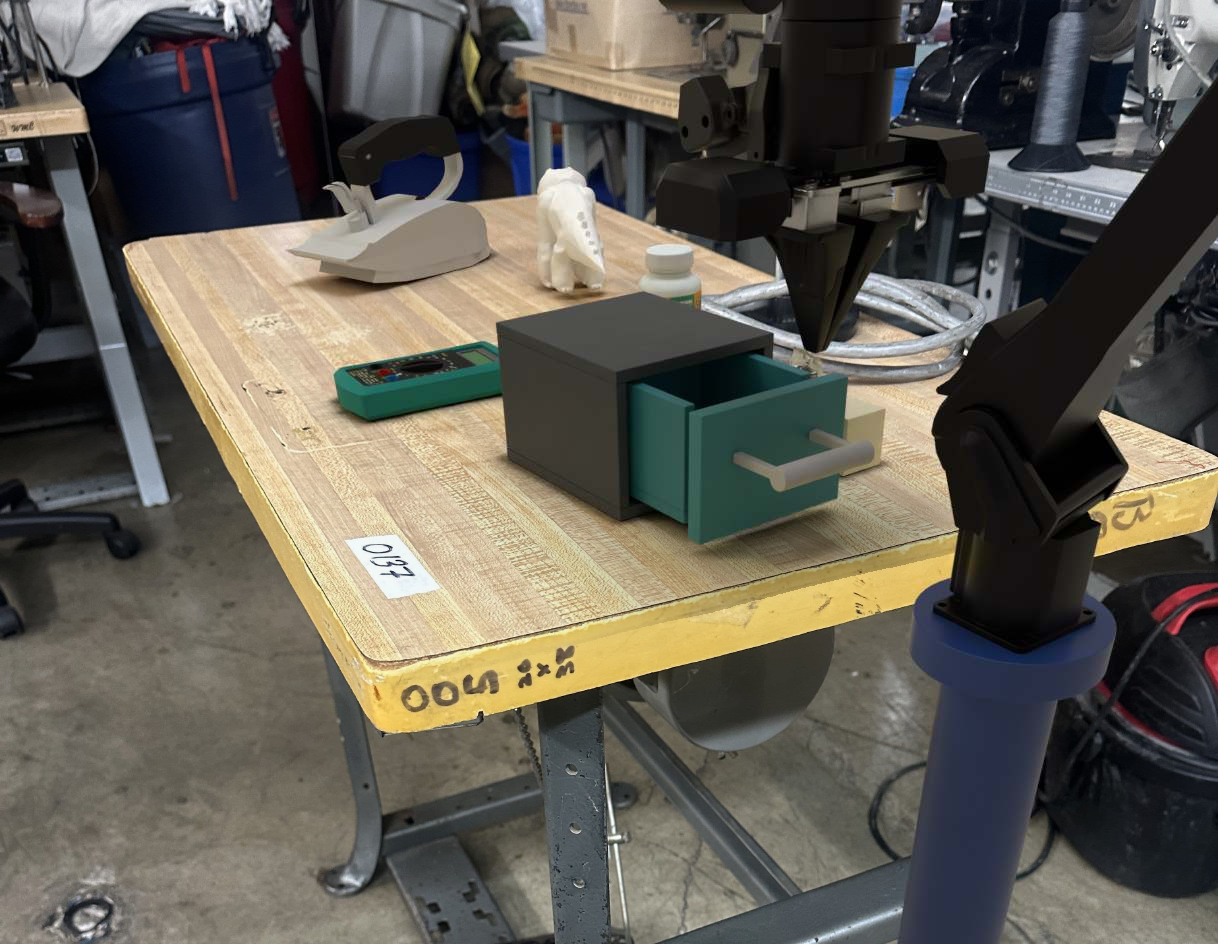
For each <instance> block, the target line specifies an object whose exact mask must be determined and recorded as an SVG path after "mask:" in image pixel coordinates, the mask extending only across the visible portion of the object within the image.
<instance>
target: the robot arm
mask: <svg viewBox="0 0 1218 944" xmlns="http://www.w3.org/2000/svg"><path fill="white" fill-rule="evenodd" d="M903 1H904V0H658V2H659V3H660V5H662V6H663V7H664V8H666V9H667V10H668V11H671V12H674V13H681V14H683V13H684V14H685V13H686V14H721V15H722V14H724V15H755V16H756V15H759V16H761V15H768V14H769V13H771V12H773V11H775V10H776V9H777V8H778V7H779V6H780V5H782V6H781V25H780V41H772V42H763V43H762V50H761V52H760V54H759V55H758V56H759V57H758V67H757V68H758V69H757V77H756V80H755V81H753V82H751V83H749V84H745V85H739V86H733V87H729V85H728V84H727V82H726V80H725V78H724V76H723V75H722V74H712V75H704V76H695V77H693V78H691V79H689V80H687V81H685V82H684V83H682V84H680V85H679V95H678V96H679V98H678V112H677V126H678V132H679V138H680V143H681V146H682V148H683V150H685V151H686V152H687V153H688V154H692V153H698V152H703V151H705V155H706V157H704V158H697V159H691V160H690V159H689V160H684V161H677V162H672V163H668V165H667V167H666V168H665V170H664V171H663V173H662V174H661V176H660V178H659V179H658V181H657V184H656V188H655V226H657V227H661V228H664V229H669V230H671V231H672V230H673V231H676V232H679V233H684V234H688V235H691V236H695V237H699V238H703V239H707V240H710V241H715V242H718V243H738V242H742V241H748V240H752V239H753V240H754V239H758V238H764V240H765V241H766V242H767V243H768V245H769V246H770V247H771V248H772V250H773V252H774V254H775V256H776V259H777V261H778V264H779V266H780V269H781V271H782V274H783V275H782V276H783V278H784V280H785V284H786V288H787V292H788V295H789V299H790V303H791V306H792V310H793V314H794V317H795V322H796V326H797V329H798V333H799V336H800V340H801V343H802V348H803V350H804V351H805V352H811V353H812V354H819V353H824V352H826V351H827V350H828V349H829V347H830V345H831V343H832V341H833V340H834V338H835V336H836V334H837V332H838V330H839V329H840V327H841V325H842V324H843V321H844V320H845V318H846V316H847V315H848V312H849V310H850V309H851V307H852V306H853V304H854V302H855V300H856V299H857V296H858V295H859V293H860V291H861V289H862V287H863V286H864V284H865V282H866V280H867V279H868V277H869V276H870V274H871V272H872V271H873V269H874V267H875V266H876V264H877V263H878V261H879V259H880V258H881V257H882V255H883V253H884V252H885V250H886V249H887V247H888V246H889V244H890V242H891V241H892V240H893V238H894V236H895V235H896V233H897V231H898V230H899V229H900V228H901V227H904V226H908V225H909V223H910V220H911V215H912V214H911V213H910V212H908V211H903V210H898V209H894V208H893V203H894V202H893V201H894V195H893V194H891V193H892V188H897V187H903V186H908V185H913V184H919V183H926V184H927V185H932V186H937V188H938V189H939V191H940V193H941V195H942V197H943V198H944V199H949V200H953V199H959V198H960V199H961V198H964V197H968V196H975V195H979V194H984V193H985V192H986V185H987V179H988V171H989V166H990V159H991V152H990V151H989V148H988V146H987V145H986V143H985V140H984V139H983V136H982V134H981V133H980V132H974V131H967V130H959V129H952V128H945V127H937V126H931V125H929V126H928V125H921V124H917V125H911V126H903V127H896V128H891V117H892V108H893V99H894V92H895V91H894V89H895V82H896V81H895V80H896V71H897V69H902V68H903V69H904V68H912V67H915V64H916V54H917V45H918V41H915V40H913V41H912V40H900V31H901V24H902V12H903V4H904V2H903ZM781 3H782V4H781ZM771 163H774V164H771ZM811 182H814V183H811ZM806 183H810V184H806ZM1217 239H1218V75H1217V76H1216V77H1215V78H1214V80H1213V81H1212V82H1211V84H1210V85H1209V86H1208V88H1207V89H1206V91H1204V94H1203V95H1202V96H1201V98H1200V99H1199V100H1198V102H1197V103H1196V105H1194V107H1193V109H1192V110H1191V111H1190V112H1189V114H1188V115H1187V116H1186V118H1185V119H1184V121H1183V122H1182V123H1181V125H1180V126H1179V127H1178V129H1177V130H1176V132H1175V133H1174V134H1173V136H1172V137H1171V138H1170V139H1169V141H1168V142H1167V144H1166V145H1165V147H1164V148H1163V149H1162V150H1161V152H1160V153H1159V155H1158V156H1157V157H1156V159H1155V160H1154V161H1153V163H1152V164H1151V166H1150V167H1149V168H1148V170H1147V171H1146V172H1145V173H1144V175H1143V176H1142V178H1141V179H1140V180H1139V181H1138V183H1137V184H1136V186H1135V187H1134V189H1133V190H1132V191H1131V193H1130V194H1129V195H1128V197H1127V198H1126V200H1125V201H1124V202H1123V203H1122V205H1121V206H1120V207H1119V209H1118V211H1117V212H1116V213H1115V214H1114V216H1113V217H1112V218H1111V220H1110V221H1109V223H1108V224H1107V226H1106V227H1105V228H1104V229H1103V230H1102V232H1101V234H1100V235H1099V237H1097V239H1096V240H1095V242H1094V243H1093V244H1092V246H1091V247H1090V248H1089V250H1088V251H1087V253H1085V255H1084V257H1083V258H1082V259H1081V261H1080V262H1079V264H1078V265H1077V266H1076V268H1074V270H1073V272H1072V273H1071V275H1070V276H1069V277H1068V279H1067V280H1066V281H1065V282H1064V284H1063V285H1062V287H1060V289H1059V291H1058V292H1057V293H1056V295H1055V296H1054V298H1053V299H1052V300H1051V301H1050V302H1049V303H1047V302H1046V300H1044V298H1043V297H1040V298H1038V299H1036V300H1033V301H1031V302H1029V303H1027V304H1024V305H1023V306H1020V307H1018V308H1016V309H1014V310H1012V311H1009V312H1007V313H1005V314H1003V315H1000V316H998V317H996V318H994V319H992V320H990V321H987V322H985V323H984V324H983V325H982V326H981V328H980V329H979V331H978V333H977V334H976V335H975V337H974V339H973V340H972V342H971V345H970V347H969V349H968V351H967V353H966V355H965V357H964V359H963V361H962V363H961V364H960V366H959V368H958V369H957V370H956V371H955V372H954V374H952V376H951V377H950V378H949V379H947V380H946V381H945V382H943V383H941V384H940V385H938V386H937V387H936V388H935V393H936V394H937V395H939V396H944V397H945V396H946V397H945V398H944V399H943V400H942V402H941V403H940V405H939V406H938V408H937V411H936V413H935V414H934V417H933V419H932V420H933V421H932V425H931V430H930V433H931V436H932V438H933V439H934V441H933V442H934V447H935V448H934V449H935V453H936V454H935V455H936V456H937V458H938V461H939V463H940V466H941V468H942V469H943V471H944V473H945V479H946V483H947V484H946V485H947V489H948V495H949V501H950V506H951V512H952V517H953V523H954V526H955V527H956V528H957V529H958V530H957V531H958V532H957V537H956V543H955V549H954V555H953V561H952V567H951V573H950V578H951V579H950V586H949V588H950V591H951V592H952V593H953V595H951V596H949V597H946V598H944V599H941V600H939V601H936V602H935V603H934V604H933V613H935V614H936V615H939V616H941V617H943V618H945V619H947V620H949V621H951V622H953V623H955V624H957V625H959V626H961V627H963V628H965V629H967V630H969V631H971V632H973V633H975V634H977V635H979V636H981V637H983V638H985V639H987V640H989V641H991V642H993V643H995V644H997V645H999V646H1001V647H1003V648H1005V649H1007V650H1009V651H1011V652H1013V653H1016V654H1026V653H1029V652H1031V651H1033V650H1035V649H1038V648H1040V647H1042V646H1044V645H1046V644H1048V643H1051V642H1053V641H1055V640H1057V639H1059V638H1062V637H1064V636H1066V635H1068V634H1070V633H1072V632H1075V631H1077V630H1079V629H1081V628H1083V627H1086V626H1088V625H1090V624H1092V623H1094V622H1095V621H1096V617H1097V613H1096V611H1094V610H1092V609H1089V608H1087V607H1085V606H1083V601H1084V597H1085V593H1087V588H1088V583H1089V581H1090V575H1091V571H1092V567H1093V563H1094V558H1095V555H1096V550H1097V547H1098V541H1099V537H1100V533H1101V530H1102V526H1103V524H1102V522H1100V521H1098V520H1095V519H1093V518H1092V517H1091V514H1090V512H1089V511H1091V510H1092V509H1094V507H1096V506H1098V504H1100V503H1102V502H1106V501H1108V500H1109V499H1110V498H1111V497H1112V496H1113V494H1114V493H1115V491H1116V490H1117V489H1118V488H1119V485H1120V484H1121V482H1122V481H1123V479H1124V478H1125V476H1126V475H1127V473H1128V472H1129V470H1130V467H1129V466H1130V465H1129V463H1128V461H1127V459H1126V457H1124V455H1123V453H1122V452H1121V450H1120V449H1119V447H1118V445H1117V444H1116V442H1115V440H1114V439H1113V438H1112V436H1111V434H1110V433H1109V431H1108V430H1107V428H1106V427H1105V425H1104V424H1103V422H1102V420H1101V418H1100V415H1101V413H1102V412H1103V410H1104V408H1105V406H1106V404H1107V403H1108V401H1109V400H1110V398H1111V396H1112V394H1113V393H1114V391H1115V389H1116V388H1117V386H1118V384H1119V381H1120V378H1121V376H1122V373H1123V371H1124V367H1125V365H1126V362H1127V360H1128V358H1129V355H1130V352H1131V350H1132V346H1133V345H1134V344H1135V341H1136V339H1137V338H1138V336H1139V334H1140V333H1141V331H1142V330H1143V329H1144V328H1145V327H1146V326H1147V324H1148V323H1149V322H1150V321H1151V319H1153V317H1154V316H1155V315H1156V313H1157V312H1158V311H1159V310H1160V308H1162V306H1163V305H1164V304H1165V302H1166V301H1167V300H1168V299H1169V298H1170V296H1171V295H1172V294H1173V293H1174V291H1175V290H1176V289H1177V288H1178V287H1179V285H1181V283H1182V282H1183V281H1184V280H1185V278H1186V277H1187V276H1188V275H1189V273H1191V271H1192V270H1193V269H1194V267H1195V266H1196V265H1197V264H1198V263H1199V262H1200V260H1201V259H1202V258H1203V257H1204V255H1205V254H1206V253H1207V252H1208V250H1209V249H1210V248H1211V247H1212V245H1213V244H1214V243H1215V242H1217Z"/></svg>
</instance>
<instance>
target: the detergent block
mask: <svg viewBox="0 0 1218 944" xmlns="http://www.w3.org/2000/svg"><path fill="white" fill-rule="evenodd" d="M886 411H887V408H886V407H884V406H881V405H878V404H875V403H872V402H869V401H868V400H867V401H866V400H864V399H861V398H858V397H855V396H852V395H847V398H846V409H845V420H844V432H843V439H844V440H847V441H849V442H852V443H854V442H857V441H861V440H869V441H870V442H871V443H872V444H873V446H874V450H875V456H874V459H873V460H872V462H870V463H868V464H865V465H862V466H859V467H856V468H853V469H850V470H847V471H843V472H840V476H842V477H845V476H847V475H851V474H854V473H857V472H860V471H864V470H867V469H869V468H873V467H875V466H879V465H880V464H881V456H882V448H883V447H882V446H883V438H884V430H885V429H884V428H885V423H886V422H885V421H886V420H885V419H886Z"/></svg>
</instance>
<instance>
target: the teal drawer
mask: <svg viewBox="0 0 1218 944" xmlns="http://www.w3.org/2000/svg"><path fill="white" fill-rule="evenodd" d="M811 376H812V373H811V372H808V371H805V370H803V369H802V368H800V369H799V368H796V367H793V366H790V364H787V363H784V362H781V361H779V360H777V359H774V358H773V359H770V358H767V357H764V356H761V355H758V354H756V353H753V352H750V351H748V352H744V353H740V354H736V355H732V356H728V357H724V358H720V359H716V360H712V361H708V362H704V363H700V364H696V365H692V366H688V367H684V368H680V369H676V370H672V371H668V372H664V373H660V374H656V375H652V376H649V377H645V378H641V379H637V380H633V381H629V382H626V391H627V434H628V476H629V495H630V496H632V497H634V498H636V499H638V500H640V501H642V502H643V503H645V504H647V505H649V506H651V507H653V508H655V509H657V510H656V511H658V512H661V513H662V514H664V515H666V516H668V517H670V518H671V519H674V520H675V521H678V522H679V523H681V524H684V525H685V524H687V539H689V540H690V541H692V542H694V543H696V544H697V545H704V544H706V543H709V542H712V541H715V540H718V539H720V538H721V539H722V538H724V537H728V536H730V535H733V534H736V533H739V532H741V531H745V530H747V529H750V528H753V527H754V528H755V527H756V526H759V525H763V524H765V523H768V522H771V521H775V520H777V519H781V518H783V517H786V516H788V515H792V514H795V513H798V512H801V511H804V510H807V509H811V508H813V507H816V506H819V505H823V504H825V503H827V502H831V501H834V500H837V499H838V497H839V486H840V485H839V484H840V476H841V475H840V472H843V471H847V470H850V469H853V468H856V467H859V466H862V465H865V464H868V463H870V462H872V460H873V459H874V456H875V450H874V446H873V444H872V443H871V442H870V441H869V440H861V441H857V442H854V443H852V442H849V441H847V440H844V439H843V432H844V420H845V409H846V398H847V396H848V386H849V376H847V375H844V374H841V373H839V372H832V373H828V374H827V373H826V374H823V376H820V377H816V378H813V379H811Z"/></svg>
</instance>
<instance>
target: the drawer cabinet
mask: <svg viewBox="0 0 1218 944" xmlns="http://www.w3.org/2000/svg"><path fill="white" fill-rule="evenodd" d="M495 330H496V341H497V347H498V352H499V363H500V375H501V386H502V394H501V395H502V397H501V398H502V406H503V419H504V420H503V421H504V429H505V440H506V456H507V459H508V460H510V461H512V462H513V463H515V464H517V465H519V466H521V467H523V468H524V469H526V470H528V471H530V472H532V473H533V474H535V475H536V476H538V477H540V478H542V479H544V480H546V481H547V482H550V483H551V484H553V485H555V486H557V487H558V488H560V489H562V490H563V491H565V492H567V493H569V494H571V495H573V496H575V497H576V498H578V499H580V500H582V502H583V501H584V502H585V503H587V504H589V505H591V506H592V507H594V508H595V509H596V508H597V509H598V510H600V511H601V512H603V513H605V514H607V515H608V516H610V517H612V518H614V519H616V520H617V521H619V522H622V521H625V520H628V519H631V518H635V517H638V516H641V515H644V514H647V513H650V512H654V511H658V510H657V509H655V508H653V507H651V506H649V505H647V504H645V503H643V502H642V501H640V500H638V499H636V498H634V497H632V496H630V495H629V476H628V434H627V391H626V382H629V381H633V380H637V379H641V378H645V377H649V376H652V375H656V374H660V373H664V372H668V371H672V370H676V369H680V368H684V367H688V366H692V365H696V364H700V363H704V362H708V361H712V360H716V359H720V358H724V357H728V356H732V355H736V354H740V353H744V352H748V351H750V352H753V353H756V354H758V355H761V356H764V357H767V358H770V359H773V360H774V343H775V339H774V338H775V333H774V332H772V331H769V330H766V329H763V328H760V327H757V326H754V325H751V324H747V323H744V322H742V321H737V320H735V319H732V318H728V317H725V316H722V315H719V314H716V313H713V312H710V311H706V310H704V309H702V308H701V309H698V308H694V307H691V306H688V305H685V304H682V303H679V302H676V301H673V300H669V299H666V298H663V297H660V296H657V295H654V294H651V293H648V292H645V291H642V292H638V291H637V292H633V293H632V292H631V293H627V294H622V295H618V296H614V297H609V298H605V299H604V298H603V299H599V300H595V301H590V302H584V303H580V304H575V305H571V306H566V307H562V308H561V307H560V308H557V309H553V310H549V311H547V310H546V311H543V312H538V313H534V314H528V315H524V316H518V317H515V318H510V319H505V320H500V321H496V322H495Z"/></svg>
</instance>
